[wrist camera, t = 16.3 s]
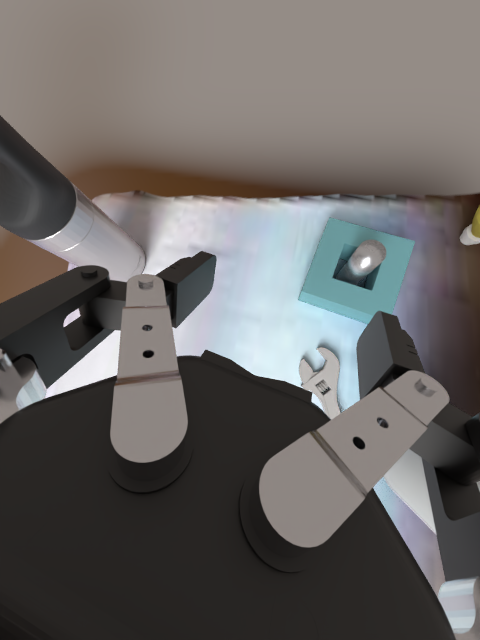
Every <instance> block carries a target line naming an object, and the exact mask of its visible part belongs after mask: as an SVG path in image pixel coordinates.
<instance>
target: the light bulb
mask: <svg viewBox="0 0 480 640" xmlns="http://www.w3.org/2000/svg"><path fill="white" fill-rule="evenodd" d="M460 241H461V242H462V243H463V244H465V245H472V244H478V243H480V205H479V207H478V209H477V211H476V213H475V216H474V218H473V222H472V224H471V225H469V226H468V227H466V228H465V229H464V231H463V233H462V234H461V236H460Z"/></svg>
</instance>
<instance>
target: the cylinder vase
mask: <svg viewBox="0 0 480 640" xmlns="http://www.w3.org/2000/svg"><path fill="white" fill-rule="evenodd" d="M383 477H384V479H385V481H386V482H387V484H388V485H389V487H390V488H391V489H392V490H393V491H394V492H395V493H396V494H397V495H398V496H399V497H400V499H401V500H402V501H403V502H404V503H405V504H406V505H407V506H408V507H409V508H410V509H411V510H412V511H413V512H414V513H415V514H416V515H417V516H418V517H419V518H420V519H421V520H422V521H423V522H424V523H425V524H426V525H427V526H428V527H429V528H430V529H431V530H432V531H433V532H434V533H435V534H436V529H435V524H434V519H433V514H432V509H431V504H430V499H429V494H428V489H427V484H426V478H425V473H424V468H423V463H422V458H421V457H420V456H419V455H417V454H416V453H414V452H413V451H411V450H410V449H408V450H407V451H406V452H405V453H404V454H403V456H402V457H401V458H400V459H399V460H398V461H397V462H396V463H395V464H394V465H393V466H392V467H391V468H390V469H389V471H388V472H387V473H386V474H385V475H384V476H383ZM476 483H477V486H478V488H479V491H480V481H478V482H476ZM436 535H437V534H436Z"/></svg>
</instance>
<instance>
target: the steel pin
mask: <svg viewBox="0 0 480 640" xmlns="http://www.w3.org/2000/svg"><path fill="white" fill-rule="evenodd" d="M385 257H386V248H385V246H384V245H383V244H382V243H381V242H379V241H377V240H366V241H364V242H362V243H361V244H360V245H359V247H358V248H357V249H356V251H355V252H354V253H353V254H352V256H351V257H350V258H349V260H348V261H347V262H346V264H345V265H344V266H343V268H342V269H341V270H340V271H339V273H338V274H337V280H340V281H343V282H346V283H349V284H352V285H355V286H356V285H357V284H358V283H359V282H360V281H362V280H363V279H364V278H365V277H366V276H367V275H368V274H369V273H370V272H371V271H373V270H374V269H375V268H376V267H377V266H378V265H379V264H380V263H381V262H383V261H384V259H385Z"/></svg>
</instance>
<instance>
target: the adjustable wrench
mask: <svg viewBox="0 0 480 640" xmlns="http://www.w3.org/2000/svg"><path fill="white" fill-rule="evenodd" d="M317 350H318V352H319V353H320V354H321V355H322V356H323V358H324V359H325V360H326V361H325V363H324V366H323V369H322V370H320V371H319V372H313V370H312V368H311V367H310V366H309V365H308V363H307V362H306V361H305V360H304V359H302V360H301V361H300V365H299V374H300V378H301V381H302V383H303V384H302V385H301V386H302V387H303V388H304V389H305V390H307V391H308V390H310V391H311V392H313V393H314V394H315V395H316V396H317V397H318V398H319V400H320V402H321V404H322V406H323V410H324V413H326V415H327V416H328V417H329V418H330V419H331V420H332V419H333V418H335V417H336V416H338V415H339V414H341V413H340V410H339V407H338V403H337V395H336V393H337V381H338V375H339V370H340V366H339V361H338V359H337V357H336V356H335V355H334V354H333V353H332V352H331V351H329V350H328V349H326V348H322V347H320V348H317ZM321 381H322V382H321ZM317 384H318V385H317ZM327 387H329V388H330V389H329V390H328V388H327ZM325 389H327V390H328V391H326V390H325ZM323 390H325V391H326V392H325V393H324V392H323ZM321 392H323V393H324V394H322V393H321Z"/></svg>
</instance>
